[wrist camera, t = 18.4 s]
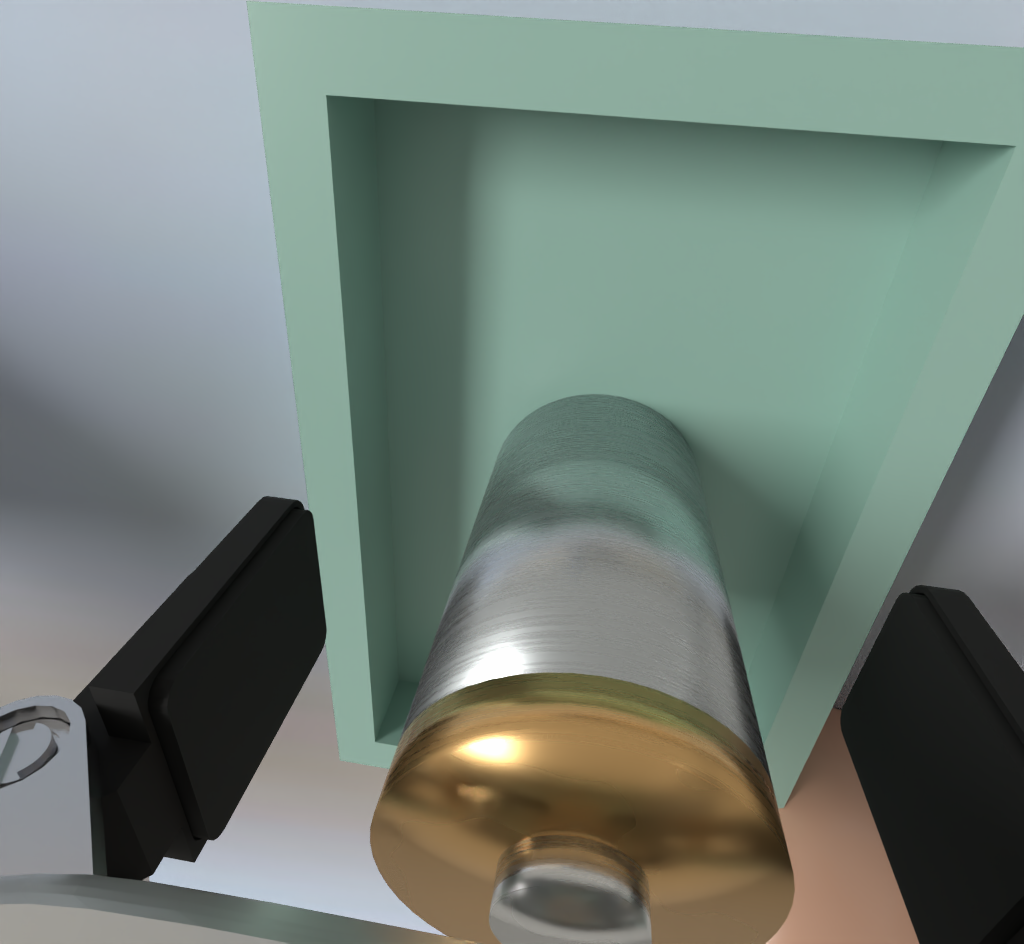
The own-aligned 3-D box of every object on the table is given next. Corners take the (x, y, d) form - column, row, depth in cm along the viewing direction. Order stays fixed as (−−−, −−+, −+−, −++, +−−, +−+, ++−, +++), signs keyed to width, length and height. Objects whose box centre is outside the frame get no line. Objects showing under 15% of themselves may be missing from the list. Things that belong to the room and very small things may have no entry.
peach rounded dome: (952, 725, 17) (1104, 1000, 11) (861, 866, 20) (946, 1123, 15) (688, 684, 17) (719, 927, 12) (644, 828, 21) (654, 1062, 16)
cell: (721, 407, 12) (883, 850, 5) (677, 581, 14) (741, 1065, 7) (499, 382, 13) (335, 755, 5) (489, 555, 15) (365, 987, 7)
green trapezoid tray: (1007, 71, 10) (1148, 55, 7) (747, 731, 18) (770, 835, 15) (334, 28, 11) (246, 0, 8) (377, 671, 19) (339, 760, 16)
